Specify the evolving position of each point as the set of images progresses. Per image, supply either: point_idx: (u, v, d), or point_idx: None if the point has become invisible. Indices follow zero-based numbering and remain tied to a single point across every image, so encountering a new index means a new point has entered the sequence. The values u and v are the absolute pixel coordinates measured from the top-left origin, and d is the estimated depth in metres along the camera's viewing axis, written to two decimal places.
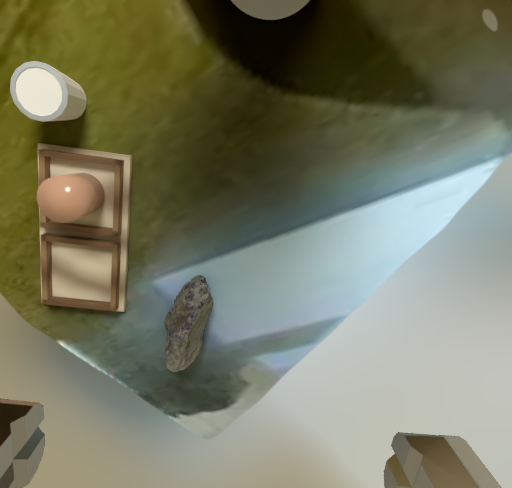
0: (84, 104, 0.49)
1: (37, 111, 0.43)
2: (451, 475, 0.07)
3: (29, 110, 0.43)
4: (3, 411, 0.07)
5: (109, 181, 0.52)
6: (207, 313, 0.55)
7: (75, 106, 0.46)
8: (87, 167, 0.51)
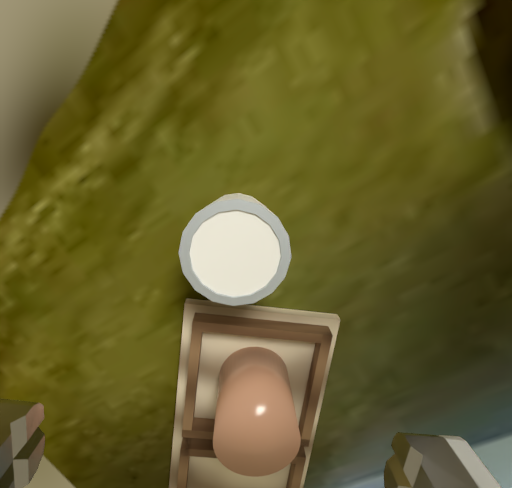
0: None
1: (227, 289, 0.22)
2: (451, 475, 0.07)
3: (211, 287, 0.22)
4: (3, 411, 0.07)
5: (298, 358, 0.30)
6: None
7: None
8: (264, 338, 0.30)
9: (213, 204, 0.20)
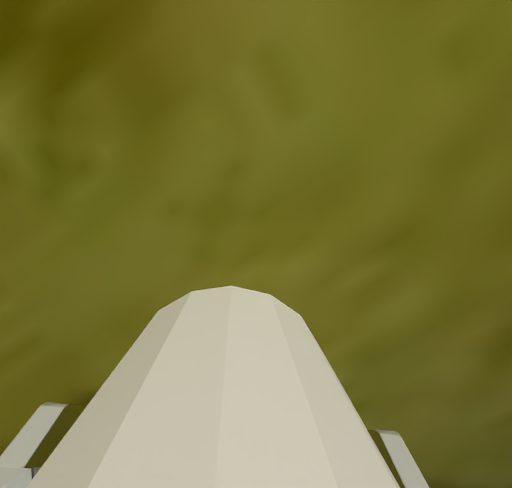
0: None
1: None
2: None
3: None
4: None
5: None
6: None
7: None
8: None
9: None
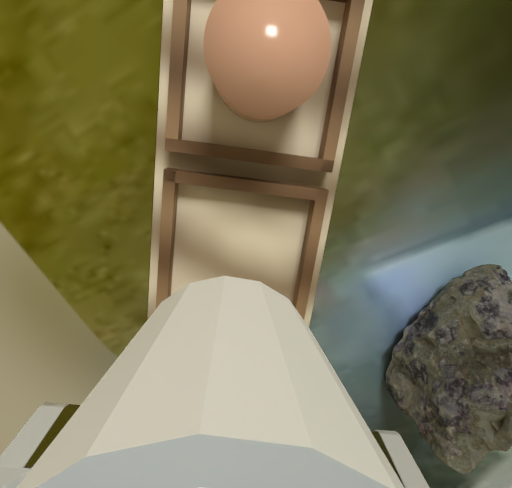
0: None
1: None
2: None
3: None
4: None
5: None
6: None
7: None
8: None
9: (78, 470, 0.04)
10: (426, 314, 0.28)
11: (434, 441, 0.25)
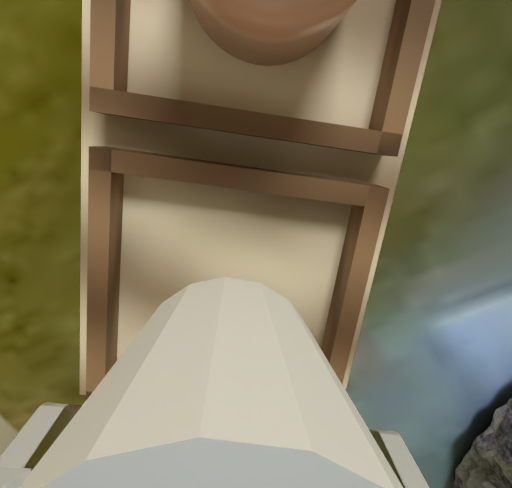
0: None
1: None
2: None
3: None
4: None
5: None
6: None
7: None
8: None
9: (78, 473, 0.04)
10: None
11: None
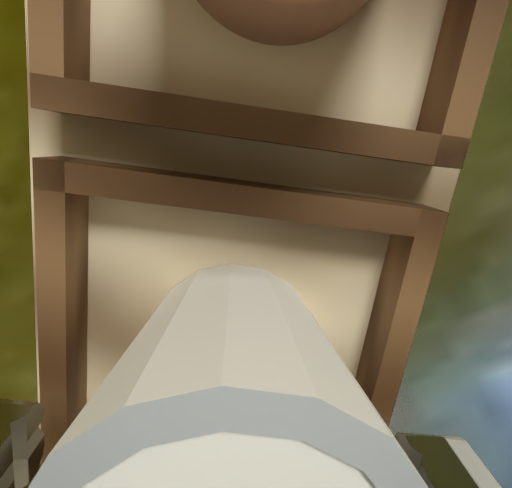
0: None
1: None
2: (451, 475, 0.07)
3: None
4: (3, 411, 0.07)
5: None
6: None
7: None
8: None
9: (118, 417, 0.05)
10: None
11: None
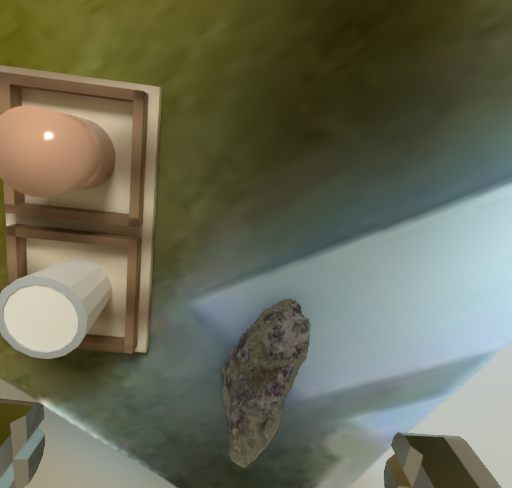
0: (109, 294, 0.33)
1: (40, 346, 0.27)
2: (451, 475, 0.07)
3: (27, 345, 0.27)
4: (3, 411, 0.07)
5: (123, 132, 0.30)
6: None
7: (97, 314, 0.30)
8: (85, 108, 0.30)
9: (15, 281, 0.26)
10: (244, 338, 0.35)
11: (229, 441, 0.31)
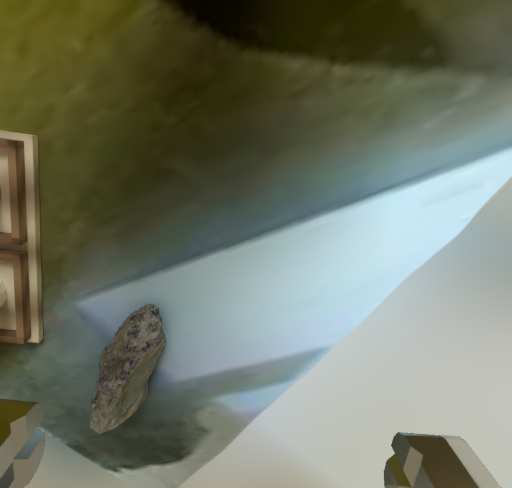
0: (3, 296, 0.41)
1: None
2: (452, 475, 0.07)
3: None
4: (3, 411, 0.07)
5: (6, 170, 0.38)
6: (155, 355, 0.41)
7: None
8: None
9: None
10: (117, 333, 0.43)
11: None
